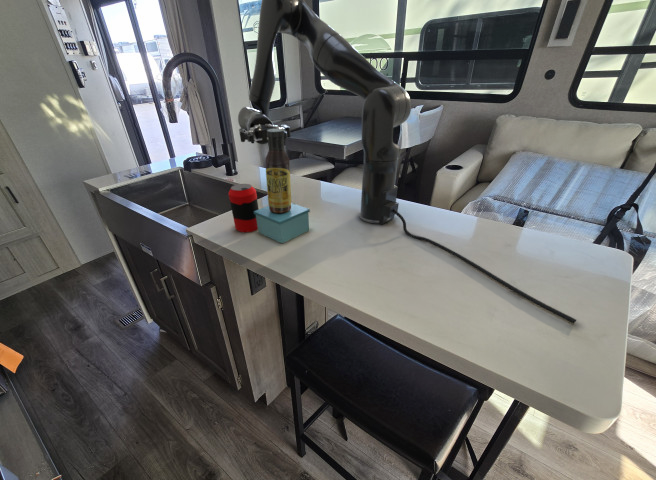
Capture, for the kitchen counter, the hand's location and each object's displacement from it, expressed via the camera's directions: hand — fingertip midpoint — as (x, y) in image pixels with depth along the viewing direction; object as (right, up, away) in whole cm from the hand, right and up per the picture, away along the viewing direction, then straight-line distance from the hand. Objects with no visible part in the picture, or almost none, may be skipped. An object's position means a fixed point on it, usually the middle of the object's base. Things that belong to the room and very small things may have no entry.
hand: (268, 137), depth 83 cm
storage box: (+3, -24, +6) cm, 25 cm away
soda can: (-7, -22, +9) cm, 25 cm away
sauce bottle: (+3, -19, +2) cm, 19 cm away
